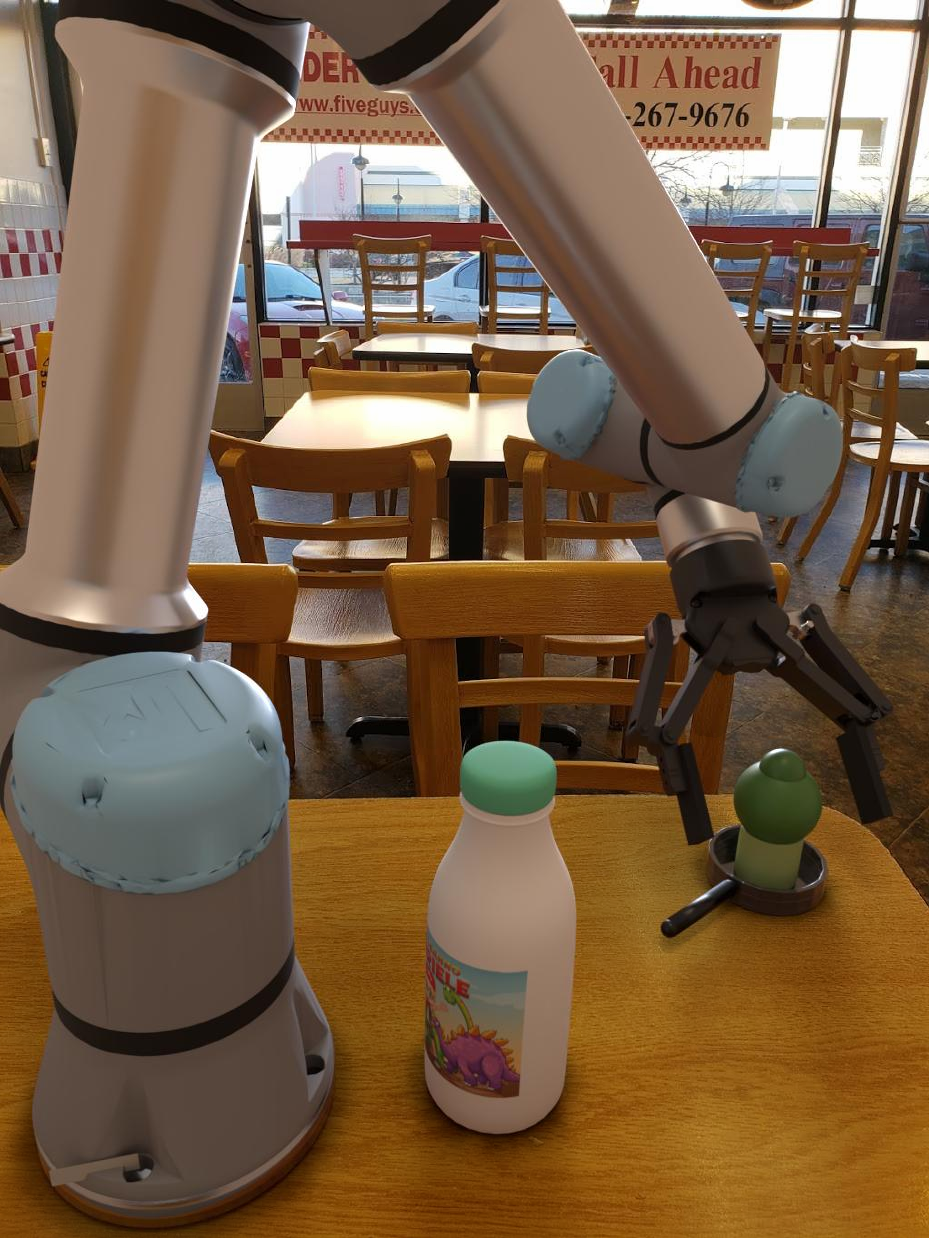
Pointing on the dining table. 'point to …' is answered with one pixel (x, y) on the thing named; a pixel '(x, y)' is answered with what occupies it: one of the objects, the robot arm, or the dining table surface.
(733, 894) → the pan handle
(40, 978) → the dining table surface
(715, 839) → the pan
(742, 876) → the broccoli
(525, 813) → the milk bottle
